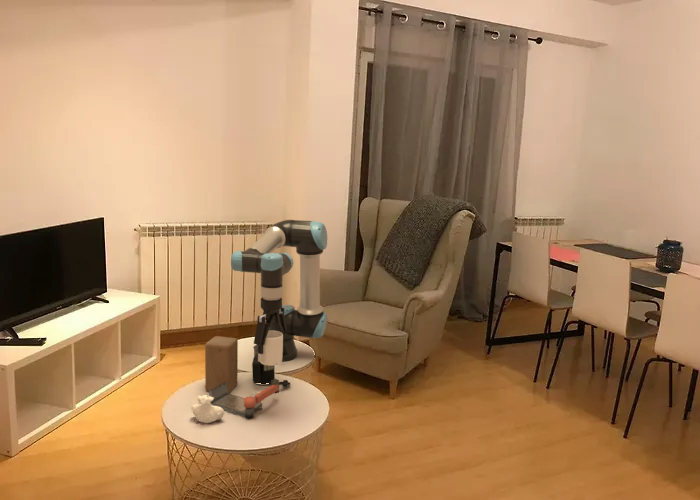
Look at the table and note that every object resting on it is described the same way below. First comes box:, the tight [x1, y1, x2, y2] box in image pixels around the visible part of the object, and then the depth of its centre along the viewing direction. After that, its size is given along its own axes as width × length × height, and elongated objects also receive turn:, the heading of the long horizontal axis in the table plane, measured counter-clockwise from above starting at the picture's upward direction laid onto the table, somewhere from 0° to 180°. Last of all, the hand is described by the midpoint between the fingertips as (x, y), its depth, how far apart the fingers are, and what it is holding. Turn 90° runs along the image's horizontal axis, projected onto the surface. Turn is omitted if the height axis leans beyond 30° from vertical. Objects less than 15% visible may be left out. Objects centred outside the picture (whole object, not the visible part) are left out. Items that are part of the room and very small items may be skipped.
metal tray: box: [208, 382, 263, 420], centre depth 216 cm, size 10×20×6 cm, turn 63°
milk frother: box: [251, 344, 291, 387], centre depth 237 cm, size 14×16×15 cm
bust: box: [190, 394, 225, 424], centre depth 204 cm, size 12×8×11 cm
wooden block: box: [204, 335, 239, 394], centre depth 231 cm, size 10×10×20 cm
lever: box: [243, 378, 280, 408], centre depth 215 cm, size 20×4×6 cm, turn 153°
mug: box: [260, 330, 283, 366], centre depth 210 cm, size 12×8×10 cm
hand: (270, 356), depth 210 cm, fingers closed on mug, 10 cm apart
